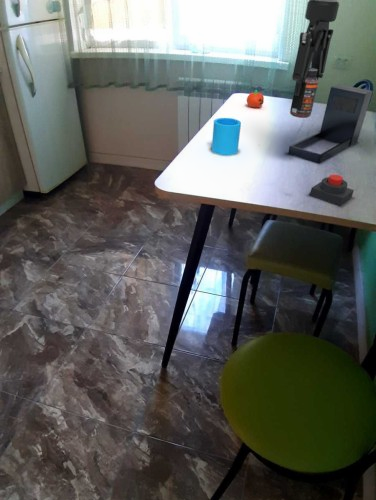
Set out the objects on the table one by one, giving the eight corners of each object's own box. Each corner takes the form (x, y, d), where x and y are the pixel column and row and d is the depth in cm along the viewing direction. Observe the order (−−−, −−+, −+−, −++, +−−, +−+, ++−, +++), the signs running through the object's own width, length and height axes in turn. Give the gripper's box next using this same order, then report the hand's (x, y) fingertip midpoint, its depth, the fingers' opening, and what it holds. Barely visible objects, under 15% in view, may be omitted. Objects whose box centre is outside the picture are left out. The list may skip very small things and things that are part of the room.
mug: (235, 156, 130) (238, 127, 124) (209, 153, 131) (211, 124, 125) (241, 143, 139) (244, 116, 133) (216, 140, 140) (218, 113, 134)
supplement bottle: (294, 118, 114) (303, 71, 106) (286, 112, 118) (294, 66, 110) (314, 118, 115) (325, 71, 107) (305, 112, 119) (315, 66, 111)
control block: (351, 197, 111) (356, 183, 108) (340, 206, 107) (345, 191, 104) (321, 187, 115) (325, 173, 112) (309, 195, 111) (313, 180, 108)
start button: (343, 183, 109) (345, 177, 108) (337, 187, 107) (339, 181, 106) (331, 179, 111) (332, 173, 109) (325, 183, 109) (326, 177, 107)
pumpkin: (262, 104, 175) (265, 87, 171) (262, 110, 169) (265, 92, 165) (246, 103, 176) (248, 86, 171) (245, 108, 170) (247, 91, 166)
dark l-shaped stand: (357, 142, 145) (372, 91, 134) (320, 163, 128) (334, 107, 117) (326, 134, 150) (338, 84, 139) (286, 153, 134) (297, 98, 123)
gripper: (320, 3, 92) (297, 116, 108) (355, -1, 103) (329, 102, 118) (290, -1, 95) (272, 109, 111) (327, -3, 106) (306, 97, 122)
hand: (302, 106), depth 115 cm, fingers closed on supplement bottle, 6 cm apart
